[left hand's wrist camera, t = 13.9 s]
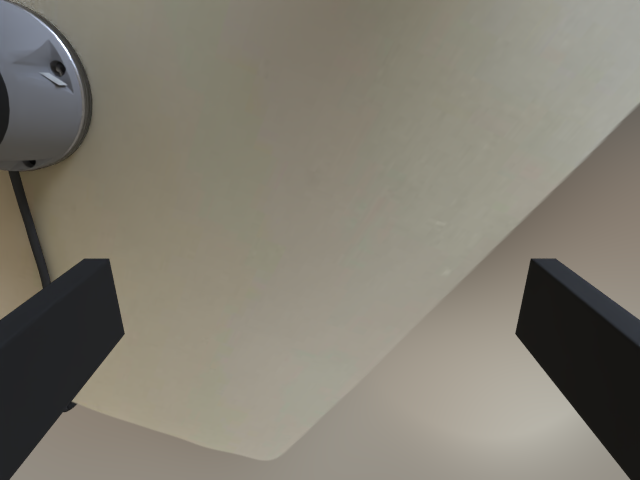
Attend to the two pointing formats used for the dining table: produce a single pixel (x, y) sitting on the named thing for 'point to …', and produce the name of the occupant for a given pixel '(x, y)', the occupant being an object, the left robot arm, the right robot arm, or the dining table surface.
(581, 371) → the left robot arm
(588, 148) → the dining table surface
